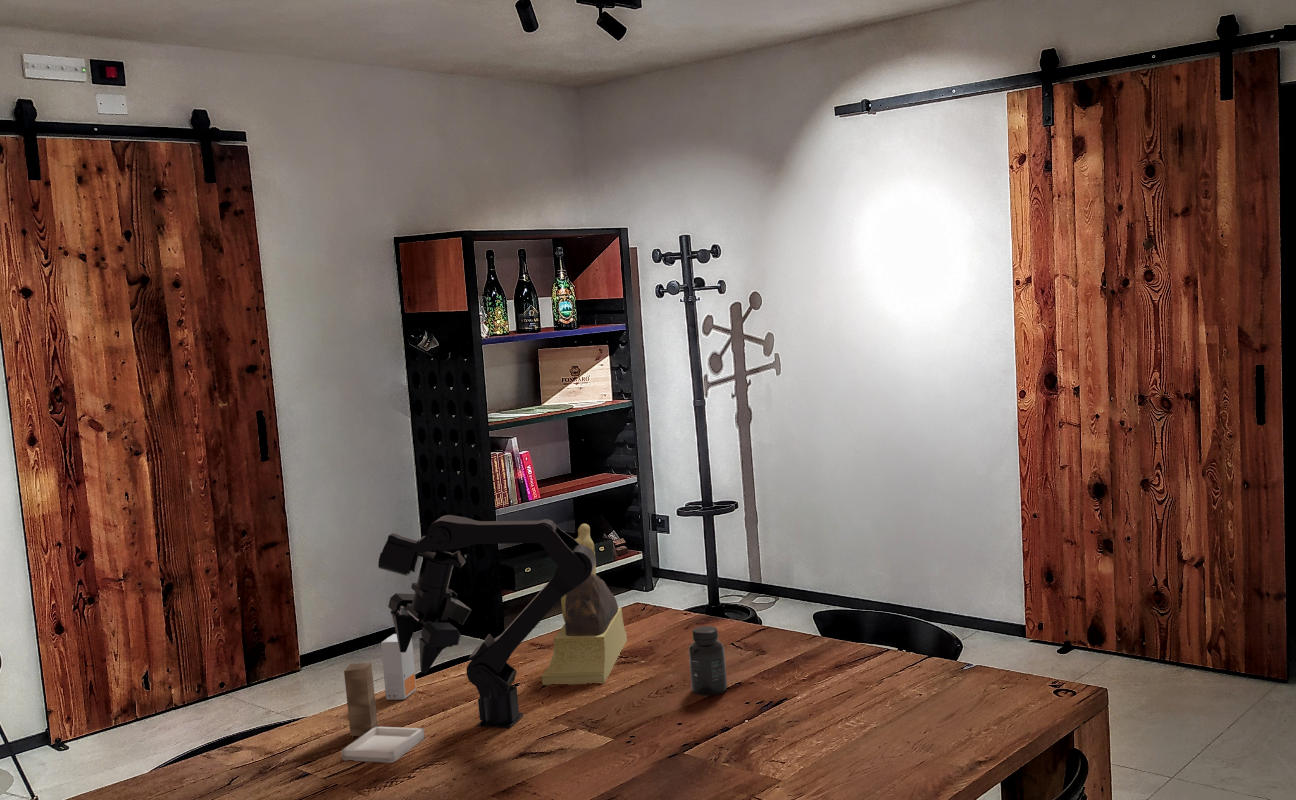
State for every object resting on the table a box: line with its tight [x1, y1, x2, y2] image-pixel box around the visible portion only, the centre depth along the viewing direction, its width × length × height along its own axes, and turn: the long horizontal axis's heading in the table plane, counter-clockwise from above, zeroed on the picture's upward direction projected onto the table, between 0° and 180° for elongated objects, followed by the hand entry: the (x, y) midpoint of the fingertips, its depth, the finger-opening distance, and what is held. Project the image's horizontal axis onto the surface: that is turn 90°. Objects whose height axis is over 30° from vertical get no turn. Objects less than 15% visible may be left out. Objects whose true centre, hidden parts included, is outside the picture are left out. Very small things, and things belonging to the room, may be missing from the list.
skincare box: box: [380, 633, 417, 701], centre depth 222 cm, size 6×4×12 cm
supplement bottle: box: [688, 625, 728, 697], centre depth 211 cm, size 7×7×12 cm
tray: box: [341, 725, 425, 764], centre depth 194 cm, size 10×11×2 cm
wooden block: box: [343, 662, 379, 738], centre depth 203 cm, size 4×4×12 cm
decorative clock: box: [541, 523, 628, 686], centre depth 234 cm, size 28×13×30 cm, turn 172°
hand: (413, 662), depth 203 cm, fingers open, 9 cm apart
